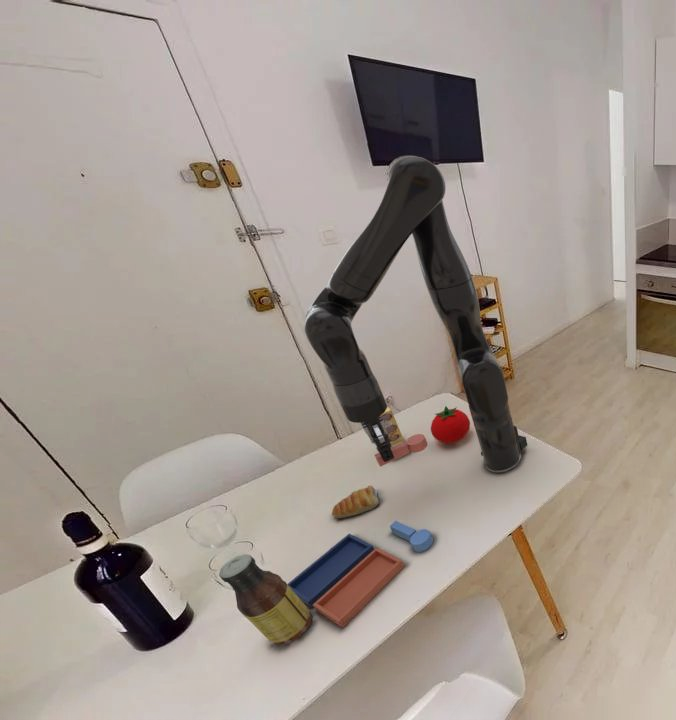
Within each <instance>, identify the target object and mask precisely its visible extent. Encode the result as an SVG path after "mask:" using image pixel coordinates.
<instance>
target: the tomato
mask: <svg viewBox="0 0 676 720" xmlns="http://www.w3.org/2000/svg"><path fill="white" fill-rule="evenodd" d="M457 408H458V406H456V407H454V408H449V407H447V405H445V407H444V409H443V410H442V411H440V412H437V413H435V416H434V418H433V419H432V421H431V424H430V432H431V435H432V437H433V438H434V439H435V440H437V441H438V442H439V443H443V444H454V443H458V442H459V441H460V440H463V438H465V437H466V436H467V434H468V433H469V431H470V427H471V421H470V418H469V417H468V415H467V413H465V412H464V411H462V410H461V409H457Z"/></svg>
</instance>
